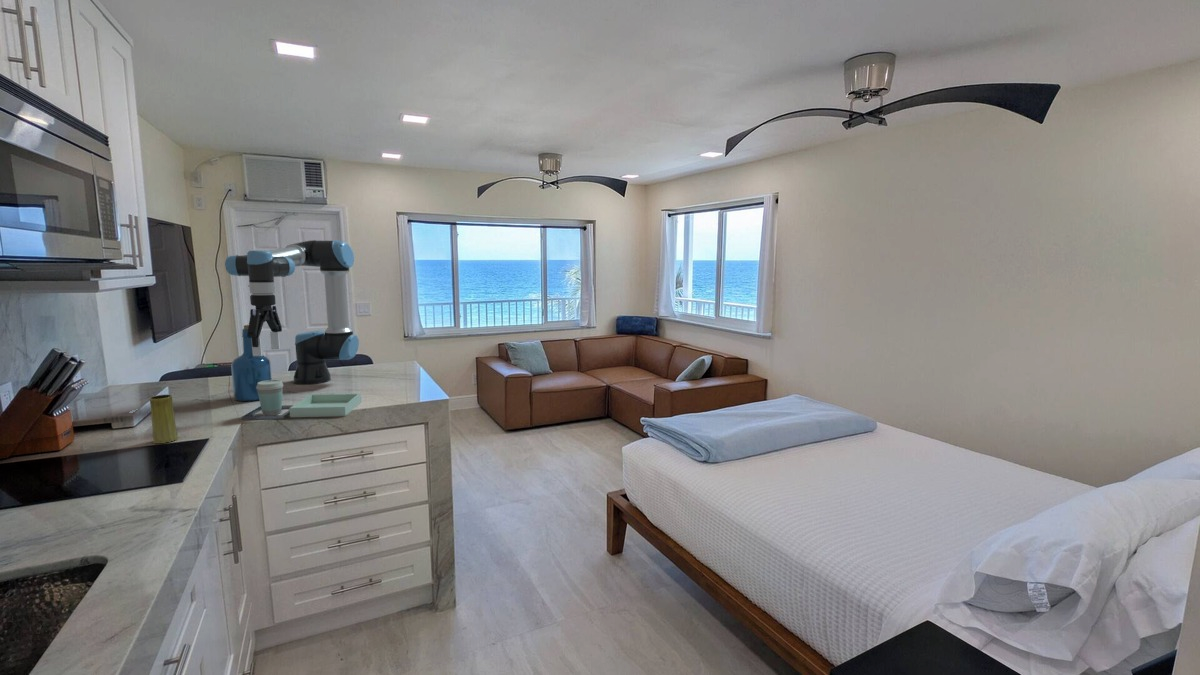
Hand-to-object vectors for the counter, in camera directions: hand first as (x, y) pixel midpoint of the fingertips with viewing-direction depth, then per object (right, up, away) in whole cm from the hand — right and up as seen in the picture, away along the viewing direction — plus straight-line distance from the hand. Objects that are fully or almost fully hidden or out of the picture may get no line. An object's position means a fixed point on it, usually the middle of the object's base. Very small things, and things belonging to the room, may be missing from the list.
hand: (267, 352), depth 187 cm
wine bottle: (-21, -19, +24) cm, 37 cm away
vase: (-15, -27, -25) cm, 40 cm away
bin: (+17, -22, +10) cm, 30 cm away
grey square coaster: (-1, -23, +4) cm, 23 cm away
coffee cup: (-1, -23, +4) cm, 23 cm away
